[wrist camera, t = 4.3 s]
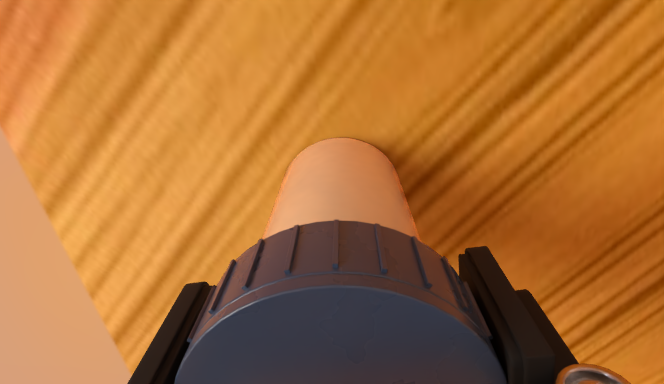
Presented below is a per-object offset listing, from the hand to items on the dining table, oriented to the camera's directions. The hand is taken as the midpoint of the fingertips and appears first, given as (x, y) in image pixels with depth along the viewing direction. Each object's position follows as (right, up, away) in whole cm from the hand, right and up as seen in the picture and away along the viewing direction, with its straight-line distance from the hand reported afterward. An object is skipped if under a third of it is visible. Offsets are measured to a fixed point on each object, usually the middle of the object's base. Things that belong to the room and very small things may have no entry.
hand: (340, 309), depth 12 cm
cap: (0, -1, -3) cm, 3 cm away
